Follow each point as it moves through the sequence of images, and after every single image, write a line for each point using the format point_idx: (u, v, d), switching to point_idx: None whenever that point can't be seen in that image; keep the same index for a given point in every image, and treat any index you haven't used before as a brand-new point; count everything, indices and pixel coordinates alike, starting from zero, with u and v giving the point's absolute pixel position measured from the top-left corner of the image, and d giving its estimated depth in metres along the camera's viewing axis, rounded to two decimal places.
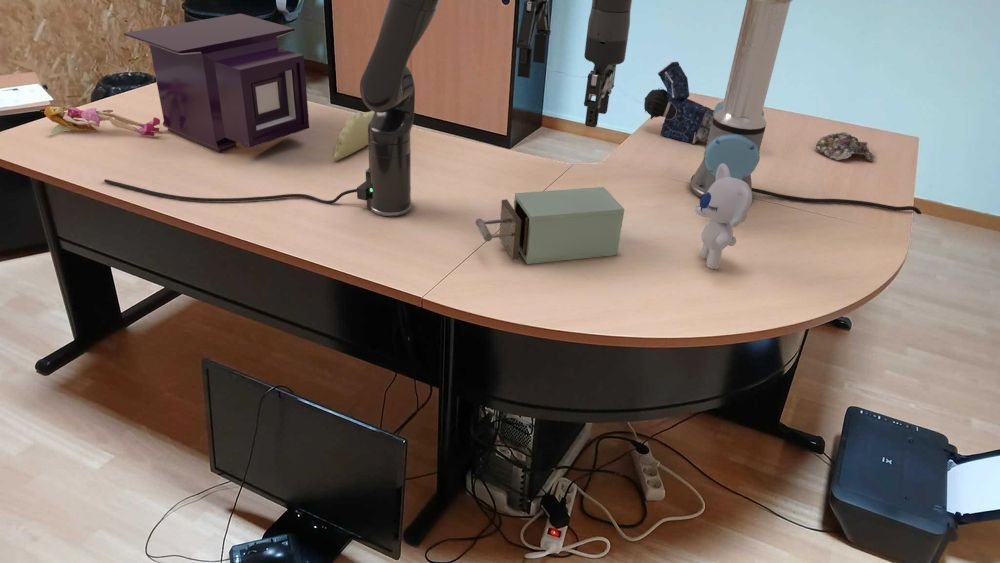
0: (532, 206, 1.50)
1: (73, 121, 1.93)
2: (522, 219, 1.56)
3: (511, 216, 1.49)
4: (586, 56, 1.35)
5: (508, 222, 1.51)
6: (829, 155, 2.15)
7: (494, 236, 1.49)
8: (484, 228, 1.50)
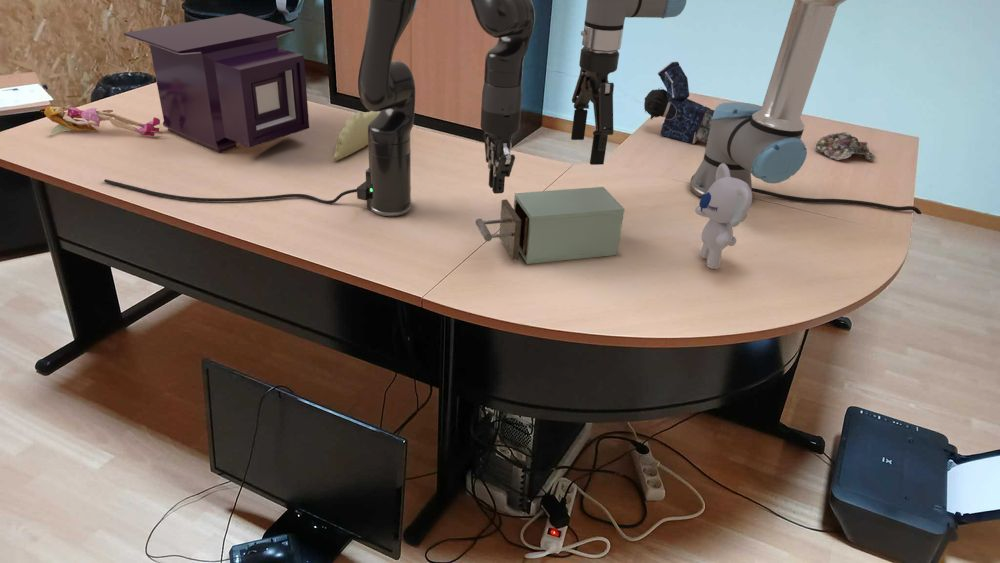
0: (532, 206, 1.50)
1: (73, 121, 1.93)
2: (522, 219, 1.56)
3: (511, 216, 1.49)
4: (488, 130, 1.37)
5: (508, 222, 1.51)
6: (829, 155, 2.15)
7: (494, 236, 1.49)
8: (484, 228, 1.50)
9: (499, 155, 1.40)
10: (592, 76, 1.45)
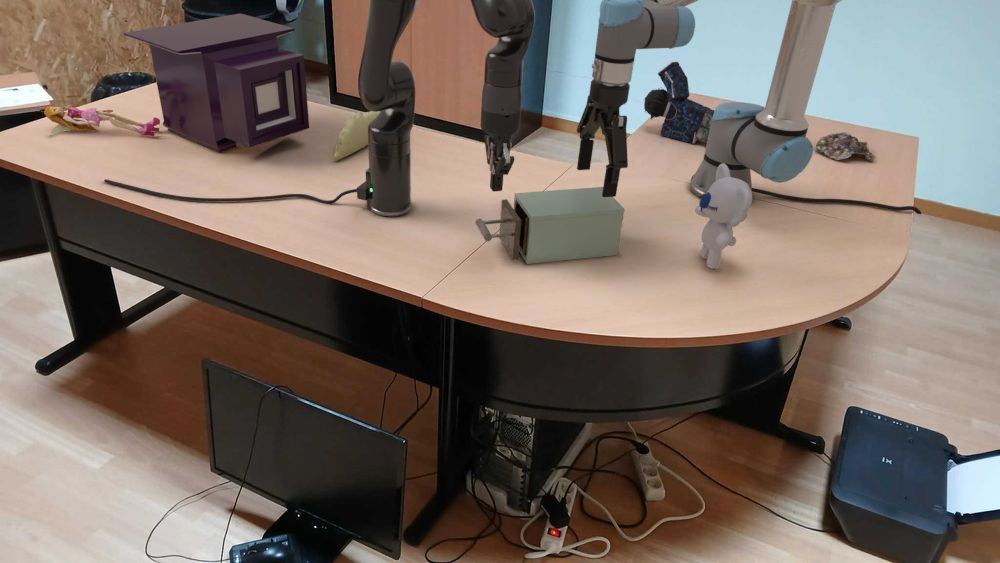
0: (532, 206, 1.50)
1: (73, 121, 1.93)
2: (522, 219, 1.56)
3: (511, 216, 1.49)
4: (488, 130, 1.37)
5: (508, 222, 1.51)
6: (829, 155, 2.15)
7: (494, 236, 1.49)
8: (484, 228, 1.50)
9: (499, 155, 1.40)
10: (602, 108, 1.43)
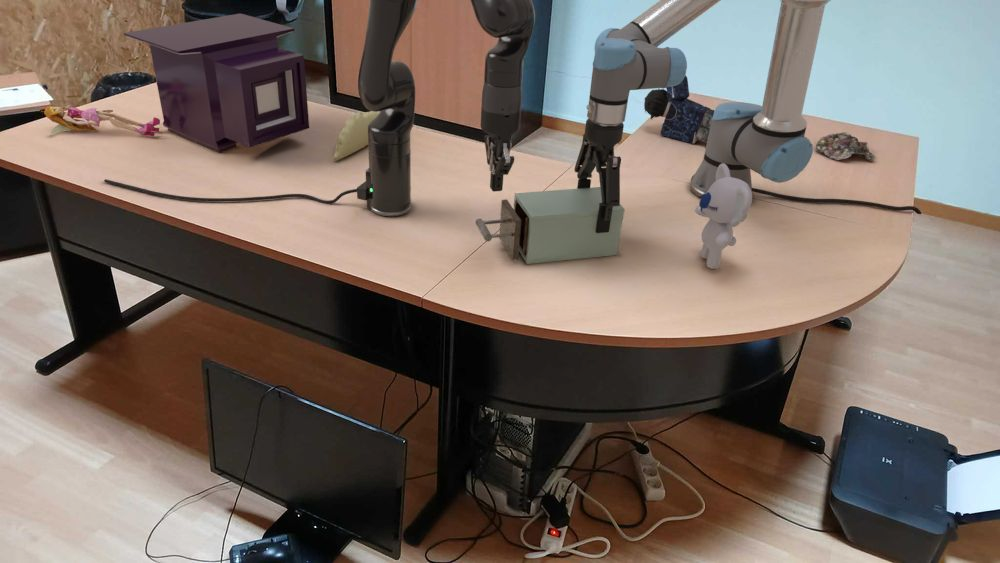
0: (532, 206, 1.50)
1: (73, 121, 1.93)
2: (522, 219, 1.56)
3: (511, 216, 1.49)
4: (488, 130, 1.37)
5: (508, 222, 1.51)
6: (829, 155, 2.15)
7: (494, 236, 1.49)
8: (484, 228, 1.50)
9: (499, 155, 1.40)
10: (597, 147, 1.48)
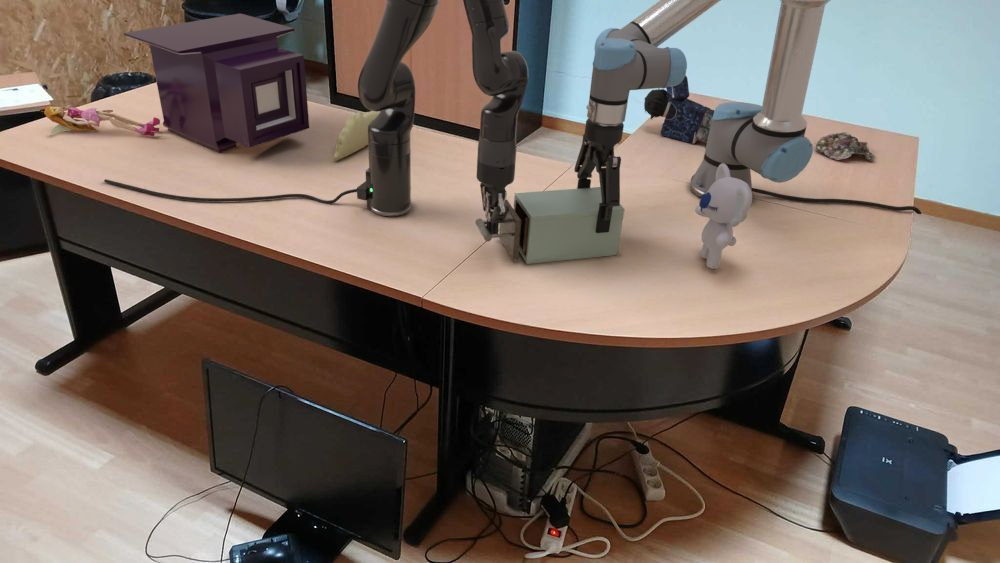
0: (532, 206, 1.50)
1: (73, 121, 1.93)
2: (522, 219, 1.56)
3: (511, 216, 1.49)
4: (484, 181, 1.42)
5: (508, 222, 1.51)
6: (829, 155, 2.15)
7: (494, 236, 1.49)
8: (484, 228, 1.50)
9: (494, 204, 1.45)
10: (597, 147, 1.48)
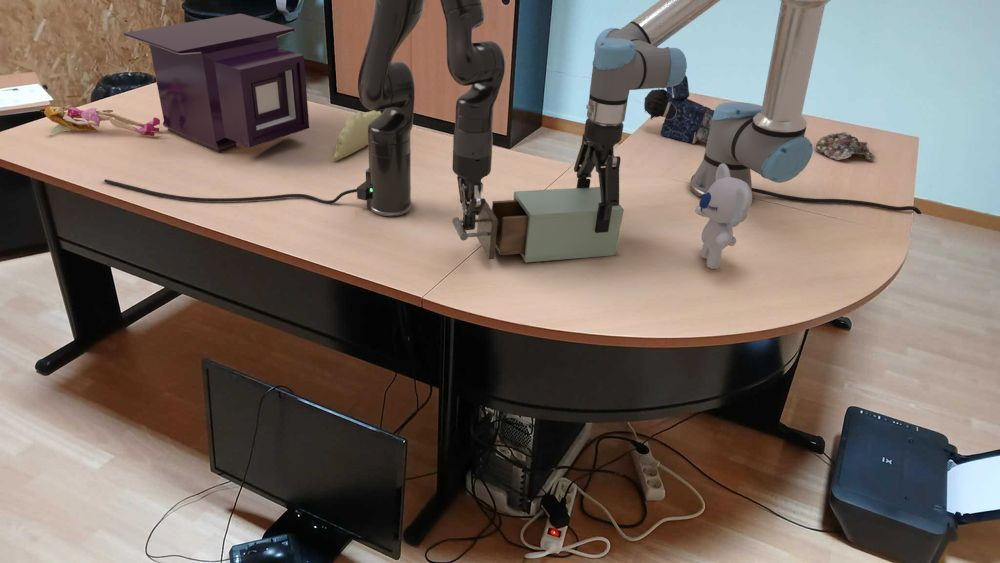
0: (531, 204, 1.50)
1: (73, 121, 1.93)
2: (500, 219, 1.55)
3: (488, 215, 1.47)
4: (460, 173, 1.40)
5: (485, 221, 1.49)
6: (829, 155, 2.15)
7: (470, 235, 1.47)
8: (460, 227, 1.48)
9: (470, 197, 1.43)
10: (597, 146, 1.48)
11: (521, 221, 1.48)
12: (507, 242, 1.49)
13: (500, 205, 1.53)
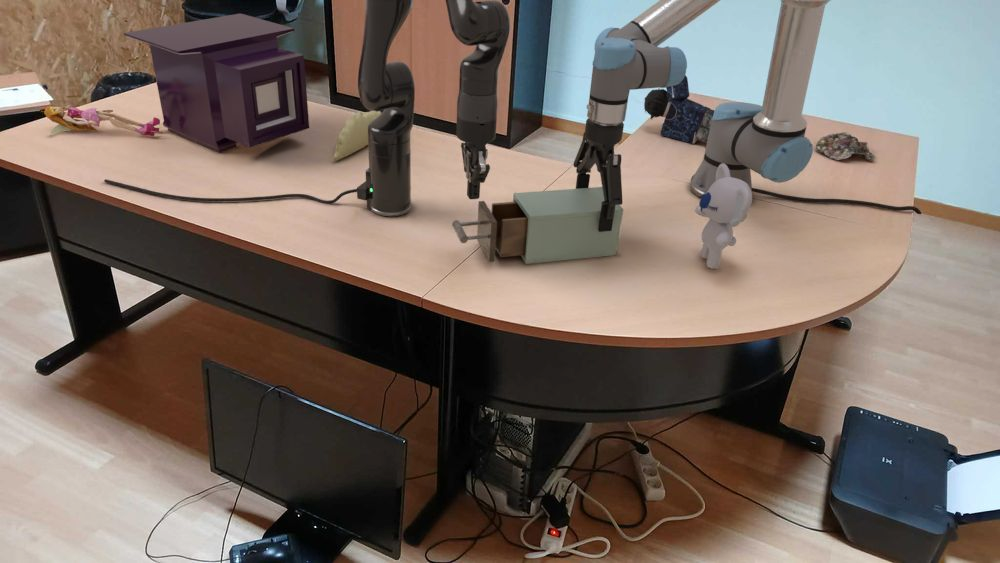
0: (531, 206, 1.50)
1: (73, 121, 1.93)
2: (499, 221, 1.55)
3: (487, 218, 1.47)
4: (464, 138, 1.36)
5: (485, 224, 1.50)
6: (829, 155, 2.15)
7: (470, 238, 1.47)
8: (460, 230, 1.48)
9: (475, 163, 1.39)
10: (597, 146, 1.48)
11: (521, 223, 1.48)
12: (507, 244, 1.50)
13: (500, 207, 1.53)
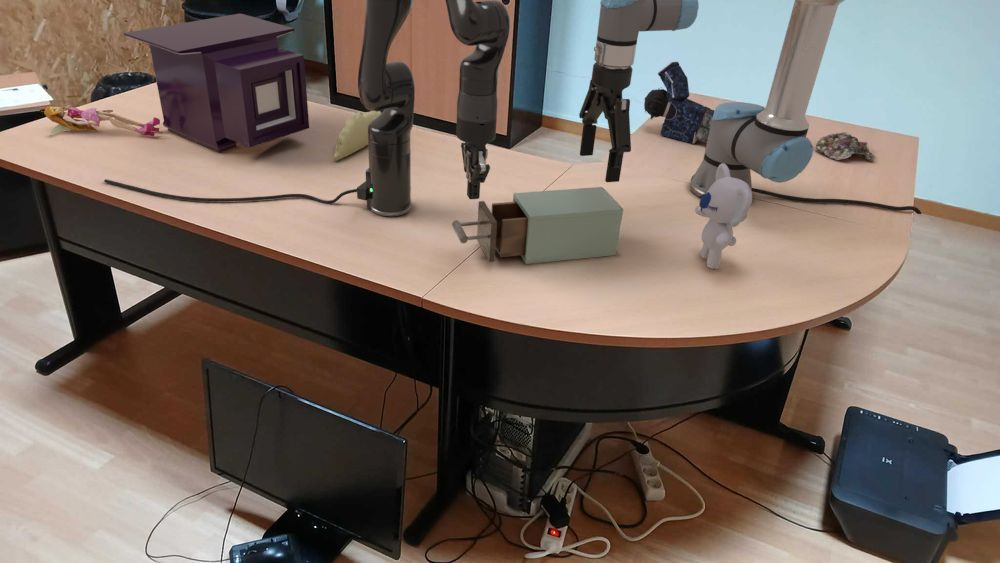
0: (531, 206, 1.50)
1: (73, 121, 1.93)
2: (499, 221, 1.55)
3: (487, 218, 1.47)
4: (464, 138, 1.36)
5: (484, 224, 1.50)
6: (829, 155, 2.15)
7: (470, 238, 1.47)
8: (460, 230, 1.48)
9: (475, 163, 1.39)
10: (605, 92, 1.42)
11: (521, 223, 1.48)
12: (507, 244, 1.50)
13: (500, 207, 1.53)
